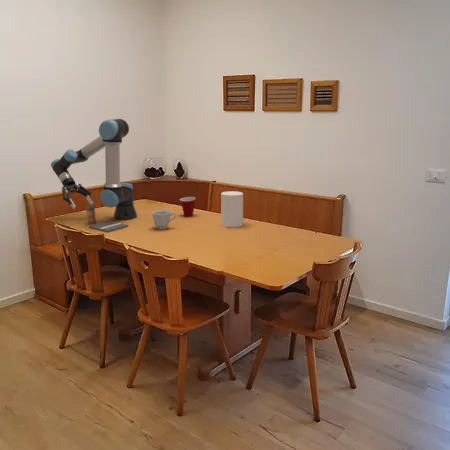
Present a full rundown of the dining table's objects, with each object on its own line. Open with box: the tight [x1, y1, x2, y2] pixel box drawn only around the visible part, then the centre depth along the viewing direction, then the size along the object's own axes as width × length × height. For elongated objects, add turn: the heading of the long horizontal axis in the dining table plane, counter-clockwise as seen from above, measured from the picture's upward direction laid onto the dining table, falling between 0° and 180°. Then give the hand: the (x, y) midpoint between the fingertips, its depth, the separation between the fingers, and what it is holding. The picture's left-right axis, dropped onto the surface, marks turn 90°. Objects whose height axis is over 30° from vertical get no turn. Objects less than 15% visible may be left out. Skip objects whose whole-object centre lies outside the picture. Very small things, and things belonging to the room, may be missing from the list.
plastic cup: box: [179, 196, 196, 218], centre depth 328 cm, size 11×11×12 cm
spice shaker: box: [85, 205, 97, 226], centre depth 308 cm, size 5×5×11 cm
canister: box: [220, 190, 244, 228], centre depth 304 cm, size 14×14×20 cm
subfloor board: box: [88, 220, 129, 233], centre depth 300 cm, size 16×18×1 cm
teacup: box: [151, 209, 177, 230], centre depth 297 cm, size 12×15×10 cm
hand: (83, 206), depth 310 cm, fingers open, 13 cm apart
